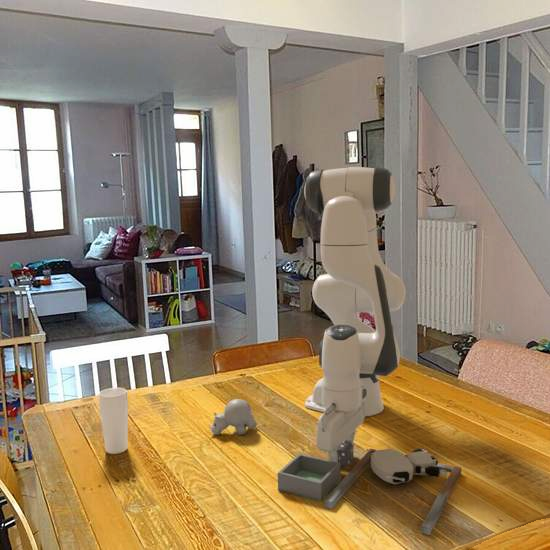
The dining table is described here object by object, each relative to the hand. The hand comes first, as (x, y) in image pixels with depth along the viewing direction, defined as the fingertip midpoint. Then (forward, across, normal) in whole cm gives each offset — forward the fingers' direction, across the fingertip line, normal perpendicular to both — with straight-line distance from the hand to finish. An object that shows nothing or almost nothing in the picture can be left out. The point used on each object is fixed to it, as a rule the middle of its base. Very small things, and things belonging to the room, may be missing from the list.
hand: (341, 454), depth 138 cm
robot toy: (+2, 0, -15) cm, 15 cm away
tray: (+2, -13, +2) cm, 13 cm away
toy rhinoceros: (+2, +3, +32) cm, 32 cm away
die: (+2, 0, 0) cm, 2 cm away
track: (+2, -6, -15) cm, 16 cm away
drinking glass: (+2, -19, +52) cm, 55 cm away
